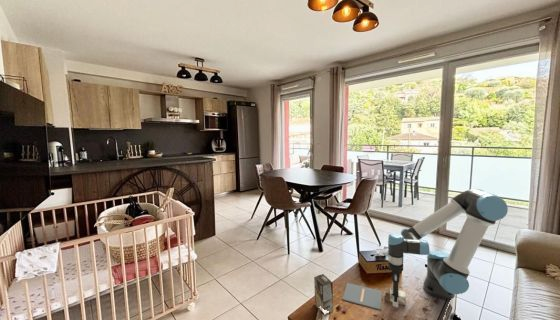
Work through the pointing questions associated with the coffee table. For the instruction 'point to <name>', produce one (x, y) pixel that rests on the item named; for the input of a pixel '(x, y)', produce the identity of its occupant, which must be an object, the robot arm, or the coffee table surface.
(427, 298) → the coffee table surface
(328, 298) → the coffee box
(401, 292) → the cream block
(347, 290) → the mat
